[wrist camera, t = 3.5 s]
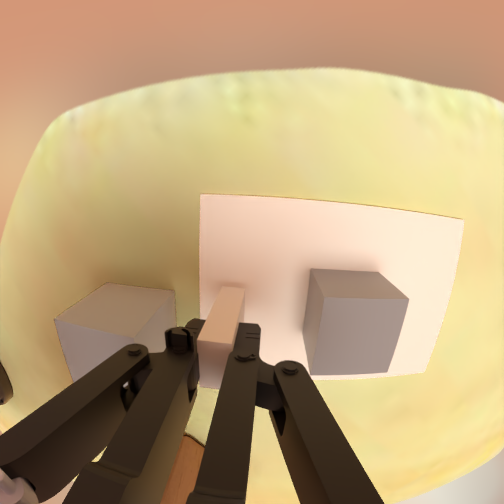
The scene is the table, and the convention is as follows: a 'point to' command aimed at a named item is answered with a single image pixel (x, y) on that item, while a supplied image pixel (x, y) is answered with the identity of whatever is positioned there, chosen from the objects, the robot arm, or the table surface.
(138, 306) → the slate cube
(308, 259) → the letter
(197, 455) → the wooden block
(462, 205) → the table surface
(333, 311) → the grey cube
